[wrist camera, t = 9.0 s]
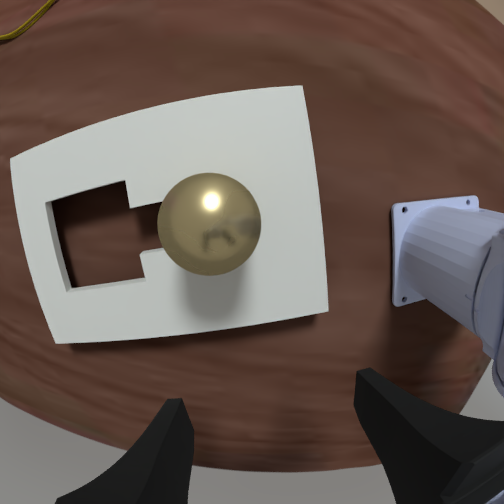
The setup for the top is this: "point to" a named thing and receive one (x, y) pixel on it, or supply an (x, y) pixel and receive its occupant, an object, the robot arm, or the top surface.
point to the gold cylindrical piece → (209, 224)
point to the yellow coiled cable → (11, 35)
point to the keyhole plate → (154, 190)
